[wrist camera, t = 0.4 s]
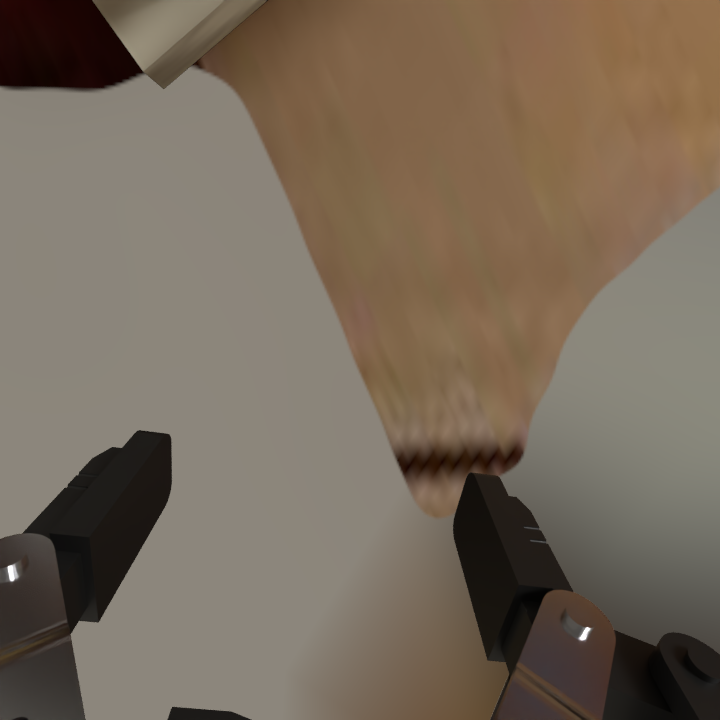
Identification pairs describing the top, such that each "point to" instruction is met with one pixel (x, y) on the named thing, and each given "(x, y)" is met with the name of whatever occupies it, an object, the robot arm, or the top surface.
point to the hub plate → (173, 30)
